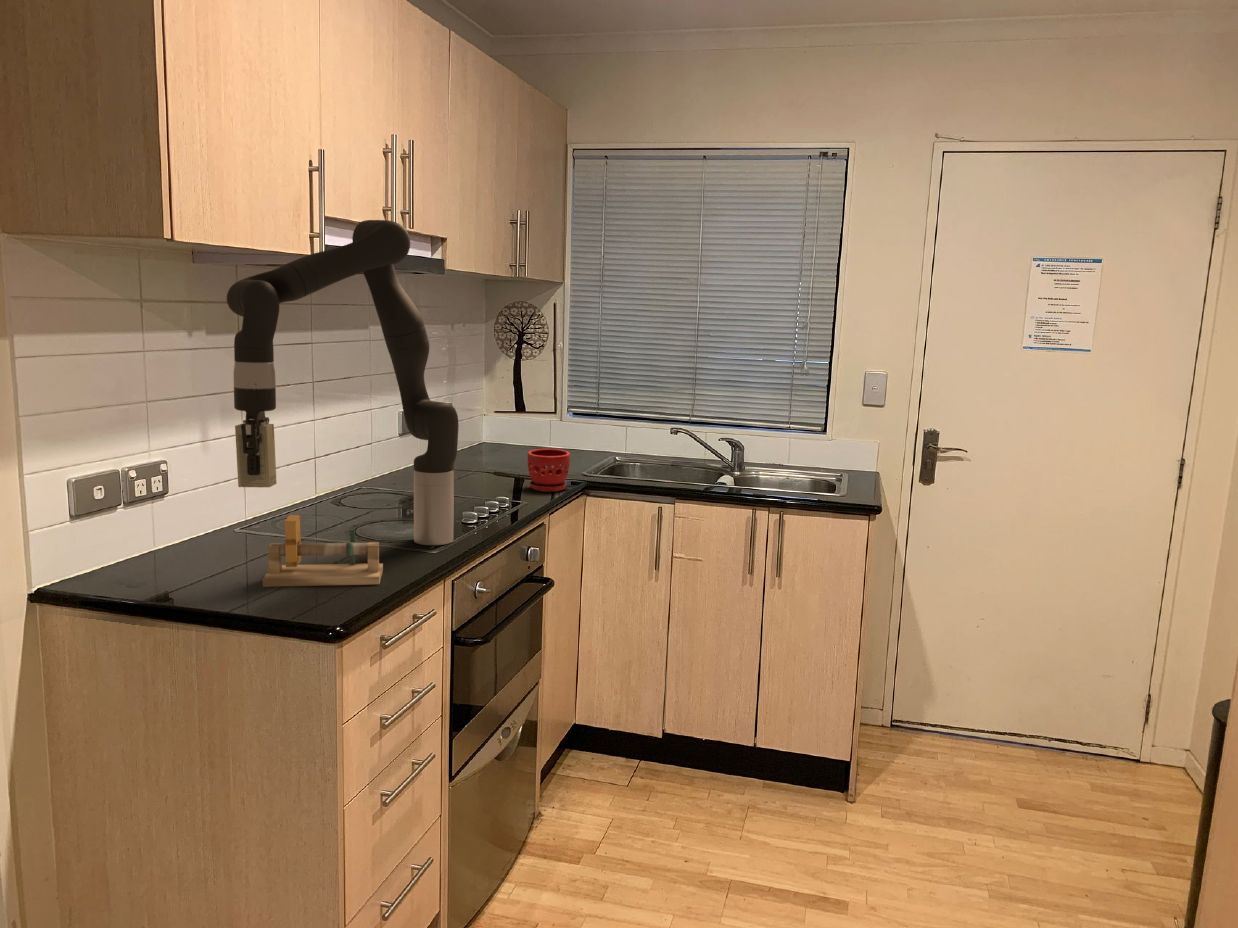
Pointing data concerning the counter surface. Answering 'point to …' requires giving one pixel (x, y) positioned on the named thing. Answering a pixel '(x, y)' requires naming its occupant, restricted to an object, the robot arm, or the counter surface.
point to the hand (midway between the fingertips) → (256, 472)
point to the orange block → (292, 540)
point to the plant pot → (548, 469)
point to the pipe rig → (325, 565)
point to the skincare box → (266, 459)
